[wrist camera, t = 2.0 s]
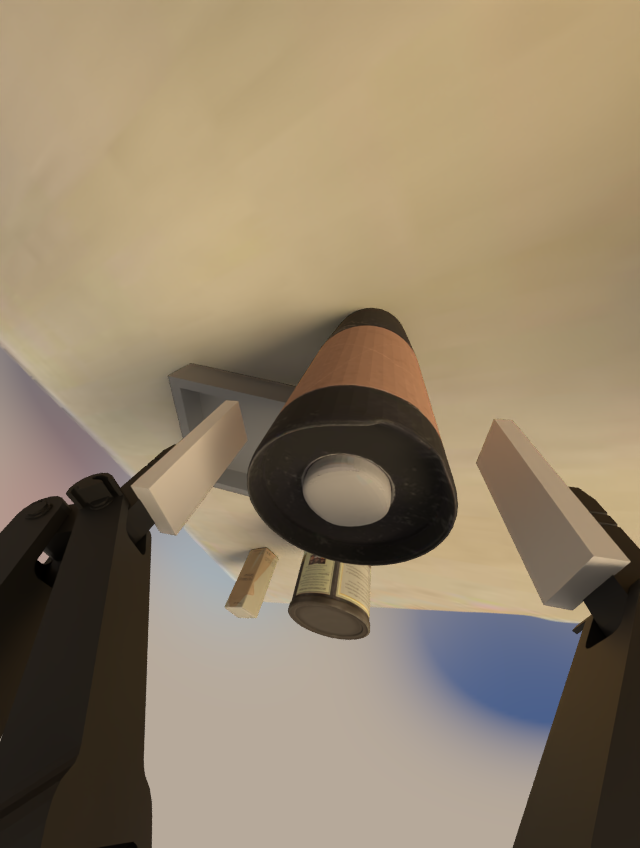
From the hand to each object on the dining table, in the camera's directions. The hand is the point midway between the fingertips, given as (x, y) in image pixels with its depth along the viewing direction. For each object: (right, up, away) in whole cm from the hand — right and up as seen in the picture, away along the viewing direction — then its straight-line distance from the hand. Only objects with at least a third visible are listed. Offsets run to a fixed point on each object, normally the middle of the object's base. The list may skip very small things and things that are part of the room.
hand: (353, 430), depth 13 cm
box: (-14, -28, +41) cm, 51 cm away
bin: (-10, -1, +21) cm, 24 cm away
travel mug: (+3, +8, +12) cm, 15 cm away
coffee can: (+2, -16, +29) cm, 33 cm away
